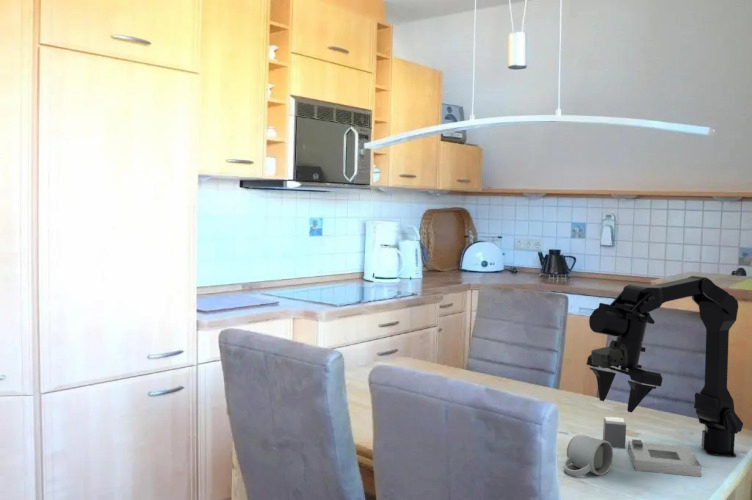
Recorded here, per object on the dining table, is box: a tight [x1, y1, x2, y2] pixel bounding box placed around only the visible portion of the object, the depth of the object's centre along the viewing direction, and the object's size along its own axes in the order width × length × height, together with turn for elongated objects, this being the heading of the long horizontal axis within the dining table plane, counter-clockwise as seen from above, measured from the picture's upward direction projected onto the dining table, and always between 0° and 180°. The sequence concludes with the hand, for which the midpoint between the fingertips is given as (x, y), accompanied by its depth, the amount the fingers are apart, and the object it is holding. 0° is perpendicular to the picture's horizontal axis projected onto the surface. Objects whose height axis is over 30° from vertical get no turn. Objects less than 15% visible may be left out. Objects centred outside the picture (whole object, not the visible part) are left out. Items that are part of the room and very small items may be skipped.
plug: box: [602, 416, 627, 450], centre depth 178 cm, size 5×4×7 cm
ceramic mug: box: [563, 434, 614, 477], centre depth 160 cm, size 11×8×8 cm
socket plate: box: [627, 439, 702, 478], centre depth 166 cm, size 14×13×3 cm
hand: (615, 406), depth 160 cm, fingers open, 9 cm apart
